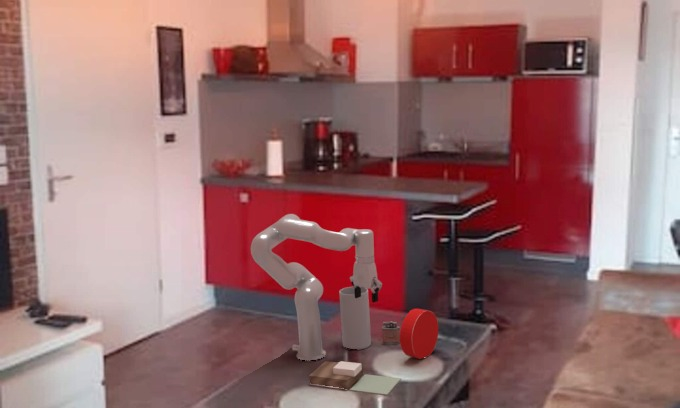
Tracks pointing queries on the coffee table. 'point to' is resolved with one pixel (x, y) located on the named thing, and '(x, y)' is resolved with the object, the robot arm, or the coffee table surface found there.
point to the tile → (347, 368)
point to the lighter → (390, 333)
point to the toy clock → (419, 333)
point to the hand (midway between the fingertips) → (366, 299)
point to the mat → (375, 384)
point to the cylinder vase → (355, 318)
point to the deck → (332, 376)
